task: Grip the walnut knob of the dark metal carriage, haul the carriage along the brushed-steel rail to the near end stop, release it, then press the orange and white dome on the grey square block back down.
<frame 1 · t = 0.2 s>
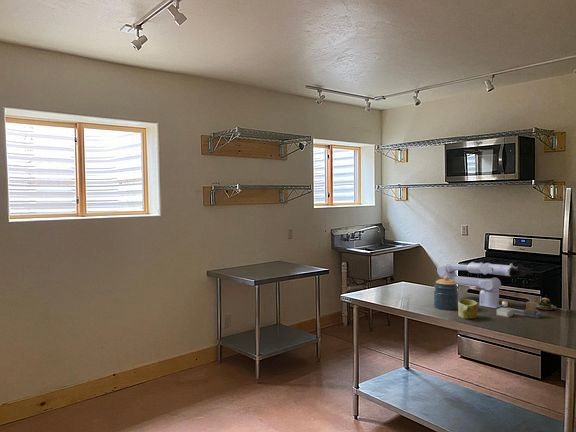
hand: (528, 272, 240), 21 cm above the table, fingers open, 7 cm apart
orange and white dome: (504, 303, 236), point 6 cm above the table, slide at 2.0 cm
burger: (544, 309, 250), on the table
mug: (466, 318, 232), on the table
canister: (446, 307, 253), on the table
carriage: (531, 309, 234), point 4 cm above the table, slide at 5.0 cm
grey square block: (504, 315, 237), on the table
rail: (520, 314, 238), on the table
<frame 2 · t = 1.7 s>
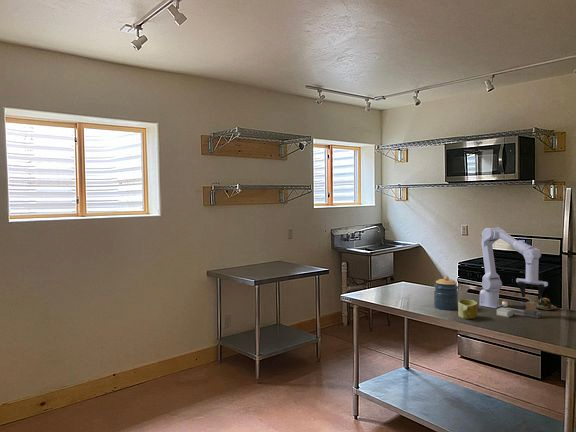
hand: (531, 298, 234), 9 cm above the table, fingers open, 7 cm apart
nothing on the table moved.
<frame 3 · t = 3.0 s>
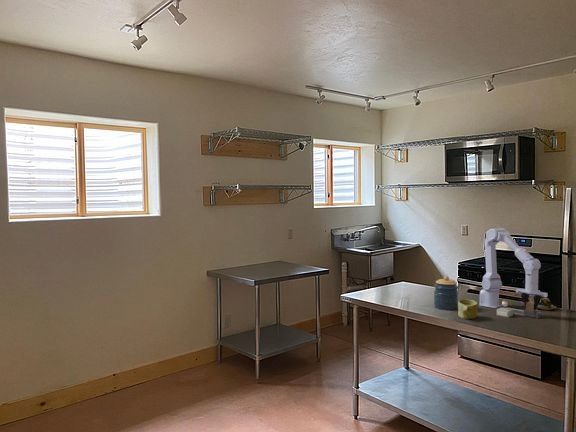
hand: (531, 308, 234), 4 cm above the table, fingers closed on carriage, 4 cm apart
carriage: (531, 309, 234), point 4 cm above the table, slide at 5.0 cm, touching gripper
everything else where it was.
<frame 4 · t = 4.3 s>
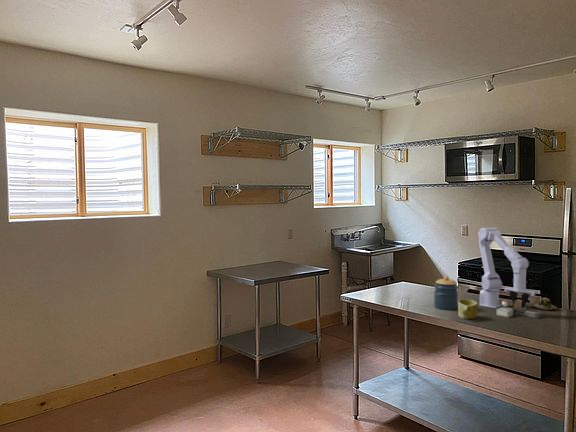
hand: (519, 306, 239), 4 cm above the table, fingers closed on carriage, 4 cm apart
carriage: (519, 306, 239), point 4 cm above the table, slide at -0.9 cm, touching gripper
everything else where it was.
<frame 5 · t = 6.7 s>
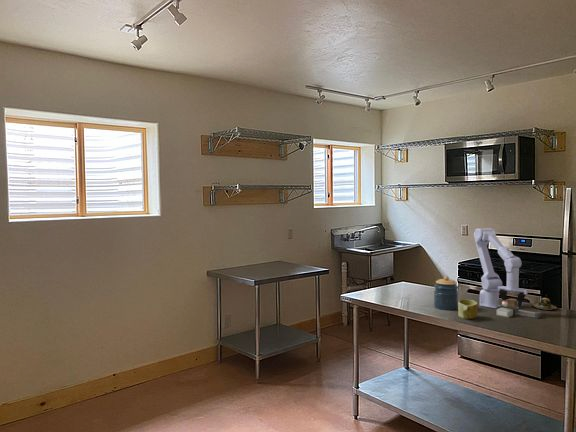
hand: (512, 305, 241), 4 cm above the table, fingers open, 7 cm apart
carriage: (512, 305, 241), point 4 cm above the table, slide at -4.5 cm
everything else where it was.
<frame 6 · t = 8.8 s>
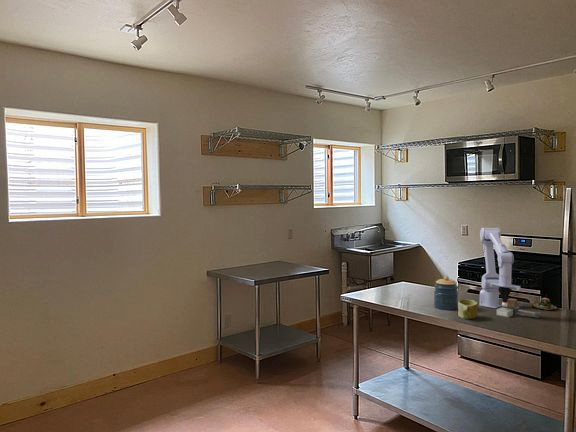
hand: (504, 302, 236), 7 cm above the table, fingers closed, pressing on orange and white dome
orange and white dome: (504, 304, 236), point 6 cm above the table, slide at 1.6 cm, touching gripper
everything else where it was.
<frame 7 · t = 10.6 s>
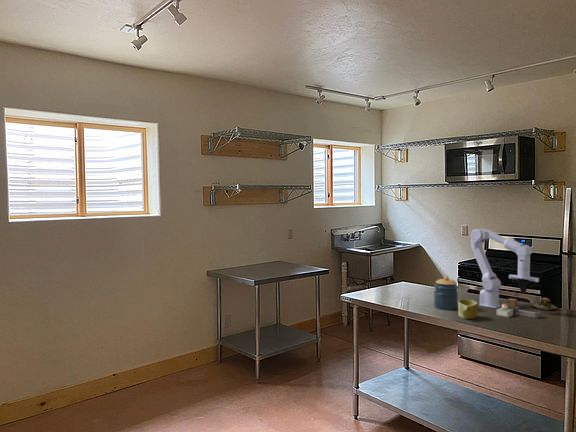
hand: (523, 293, 242), 10 cm above the table, fingers closed
orange and white dome: (504, 306, 236), point 5 cm above the table, slide at 0.3 cm
everything else where it was.
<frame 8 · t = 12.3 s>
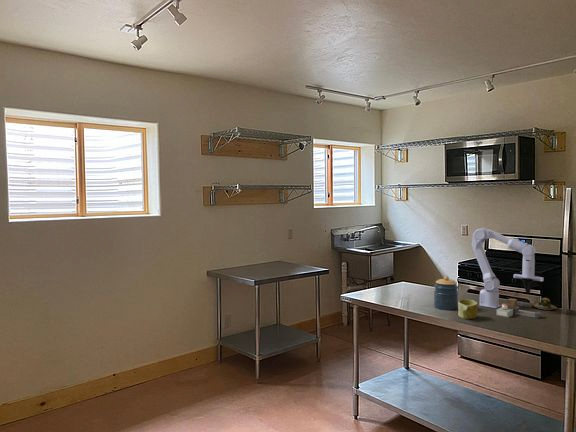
hand: (527, 292, 244), 10 cm above the table, fingers closed
nothing on the table moved.
at the end: carriage slide at -4.5 cm; orange and white dome slide at 0.3 cm; the gripper is holding nothing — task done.
